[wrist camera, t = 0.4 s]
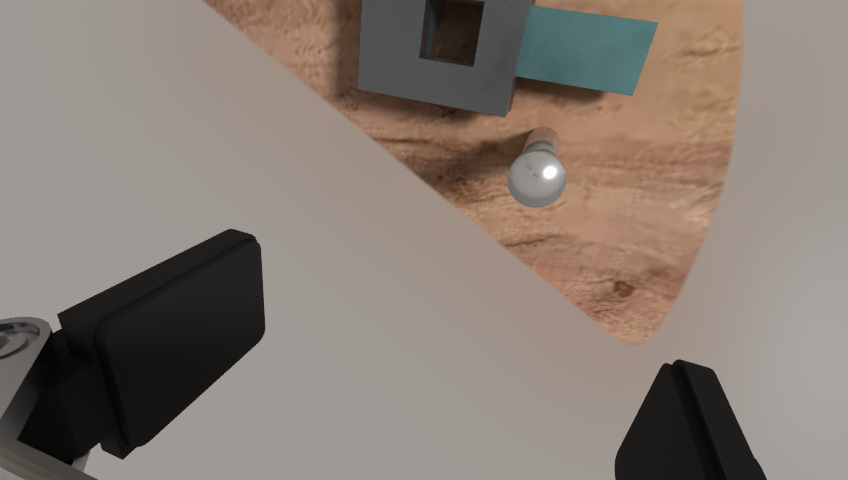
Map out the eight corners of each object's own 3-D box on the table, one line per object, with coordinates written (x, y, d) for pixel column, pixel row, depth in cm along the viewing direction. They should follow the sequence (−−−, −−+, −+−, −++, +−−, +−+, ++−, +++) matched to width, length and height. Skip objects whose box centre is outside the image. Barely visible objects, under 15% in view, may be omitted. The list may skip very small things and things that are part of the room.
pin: (517, 159, 39) (501, 200, 29) (527, 118, 37) (514, 146, 27) (557, 167, 38) (556, 212, 28) (569, 126, 36) (573, 159, 26)
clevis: (379, 84, 40) (357, 89, 35) (389, -52, 35) (365, -66, 30) (614, 127, 35) (621, 139, 31) (665, -21, 30) (683, -32, 26)
